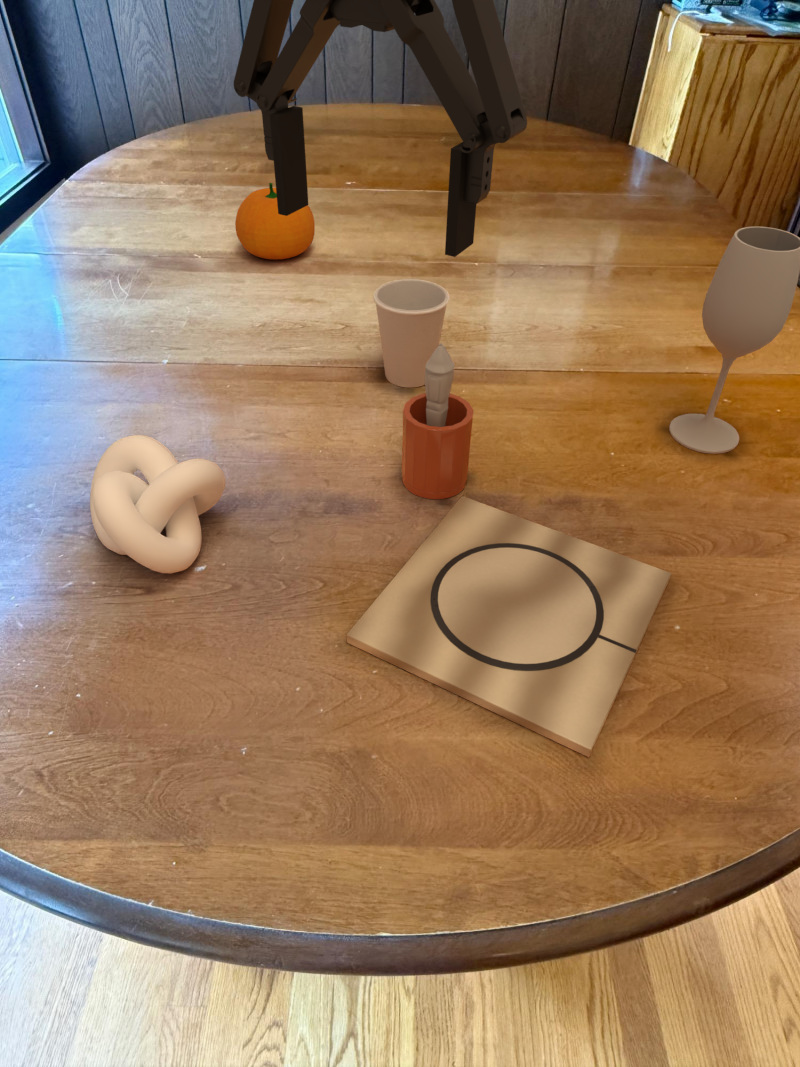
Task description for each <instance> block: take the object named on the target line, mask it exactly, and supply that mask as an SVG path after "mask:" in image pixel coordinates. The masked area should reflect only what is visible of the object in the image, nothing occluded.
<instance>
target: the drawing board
mask: <svg viewBox="0 0 800 1067" xmlns="http://www.w3.org/2000/svg"><path fill="white" fill-rule="evenodd" d="M671 577H672V572H671V571H667V570H664V569H662V568H659V567H656V566H653V565H651V564H648V563H645V562H643V561H640V560H637V559H634V558H632V557H629V556H626V555H623V554H621V553H617V552H615V551H613V550H611V549H607V548H605V547H602V546H600V545H597V544H594V543H591V542H588V541H586V540H583V539H580V538H579V537H575V536H572V535H570V534H567V533H564V532H561V531H559V530H556V529H553V528H550V527H549V526H545V525H542V524H540V523H537V522H534V521H531V520H529V519H526V518H524V517H520V516H518V515H515V514H512V513H510V512H507V511H504V510H502V509H499V508H496V507H494V506H491V505H488V504H485V503H483V502H480V501H477V500H475V499H472V498H469V497H467V496H464V495H461V497H460V498H459V499H458V500H457V501H456V503H454V505H453V506H452V507H451V508H450V509H449V511H448V512H447V513H446V515H445V516H444V517H443V518H441V521H439V523H438V524H437V525H436V526H435V528H434V529H433V530H432V531H431V533H430V534H429V535H428V536H427V538H426V539H424V541H423V542H422V543H421V545H420V546H419V547H418V548H417V549H416V550H415V552H413V554H412V555H411V556H410V557H409V559H408V560H406V563H405V564H404V565H403V566H402V567H401V568H400V569H399V571H398V572H397V573H396V574H395V576H394V577H393V578H391V581H390V582H389V583H388V584H387V585H386V586H385V588H384V589H383V590H382V591H381V592H380V593H379V595H378V596H377V597H376V598H375V600H374V601H373V602H372V603H371V604H370V606H369V607H368V608H367V609H366V610H365V612H364V613H363V614H362V616H360V618H359V619H358V620H357V621H356V623H355V624H354V625H353V626H352V627H351V628H350V630H349V631H348V632H347V633H346V644H348V645H350V646H353V647H356V648H357V649H359V650H361V651H364V652H366V653H368V654H370V655H373V656H374V657H377V658H378V659H381V660H383V661H385V662H387V663H389V664H392V665H393V666H395V667H397V668H399V669H401V670H403V671H406V672H408V673H410V674H412V675H415V676H417V677H419V678H421V679H423V680H425V681H427V682H429V683H431V684H433V685H435V686H437V687H439V688H442V689H444V690H446V691H448V692H450V693H451V694H452V693H453V694H454V695H456V696H458V697H461V698H463V699H464V700H467V701H469V702H471V703H473V704H476V705H478V706H479V707H482V708H484V709H486V710H488V711H490V712H492V713H494V714H496V715H499V716H500V717H502V718H505V719H507V720H508V721H511V722H513V723H515V724H518V725H520V726H522V727H523V728H526V729H528V730H530V731H532V732H534V733H536V734H539V735H541V736H542V737H545V738H547V739H549V740H551V741H553V742H555V743H558V744H559V745H562V746H563V747H566V748H568V749H570V750H572V751H574V752H577V753H579V754H580V755H583V756H584V757H587V758H589V757H590V756H591V754H592V752H593V750H594V748H595V745H596V743H597V741H598V739H599V737H600V734H601V732H602V730H603V727H604V726H605V723H606V721H607V719H608V716H609V714H610V713H611V710H612V708H613V705H614V704H615V702H616V699H617V698H618V695H619V692H620V690H621V688H622V686H623V684H624V681H625V679H626V677H627V675H628V672H629V670H630V668H631V666H632V664H633V662H634V659H635V657H636V655H637V653H638V650H639V649H640V646H641V644H642V642H643V640H644V637H645V635H646V633H647V631H648V628H649V626H650V624H651V623H652V620H653V618H654V615H655V613H656V611H657V609H658V607H659V605H660V603H661V601H662V597H663V595H664V593H665V591H666V588H667V586H668V584H669V582H670V580H671Z"/></svg>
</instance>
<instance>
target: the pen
mask: <svg viewBox="0 0 800 1067" xmlns="http://www.w3.org/2000/svg"><path fill="white" fill-rule="evenodd" d="M455 365H456V364H455V362H454V360H453V359H452V357H451V354H450V352H449V351H448V349H447V347H446V346H445V345H444V344H443V343H442V342H439V346H438V347H437V348H436V349H435V351H434V352H433V354H432V355H431V357H430V359H429V360H428V361H427V363H426V364H425V368H426V369H425V385H424V390H425V391H424V392H425V393H426V398H427V404H426V420H427V425H428V426H436V427H445V424H446V418H447V411H448V398H449V395H450V394H451V391H452V386H453V382H454V376H455V367H456V366H455Z"/></svg>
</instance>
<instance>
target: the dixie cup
mask: <svg viewBox="0 0 800 1067" xmlns="http://www.w3.org/2000/svg"><path fill="white" fill-rule="evenodd" d="M372 298H373V301H374V303H375V306H376V314H377V321H378V322H377V323H378V329H379V330H378V331H379V336H380V344H381V345H380V346H381V354H382V360H383V367H384V375H385V378H386V380H387V382H389V383H391V384H393V385H395V386H398V387H402V388H418V387H423V386H425V369H426V368H425V364H426V363H427V361H428V360H429V359H430V357H431V355H432V354H433V352H434V351H435V349H436V348H437V347H438V346H439V345H440V343H441V337H442V331H443V326H444V321H445V314H446V310H447V305H448V304H449V303H450V299H451V297H450V293H449V292H448V290H446V289H445V287H443V286H442V285H440V284H438V283H435V282H433V281H429V280H426V279H420V278H400V279H395V280H390V281H387V282H385V283H382V284H381V285H379V286H378V287H377V288H376V289H375V290H374V292H373V295H372Z"/></svg>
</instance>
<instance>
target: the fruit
mask: <svg viewBox="0 0 800 1067" xmlns="http://www.w3.org/2000/svg"><path fill="white" fill-rule="evenodd" d="M268 185H269V186H268V187H266V188H265V187H264V188H261V189H256V190H254V191H252V192H250V193H249V194H248V195H247V196H246V197H245V198H244V200H243V201H242V202H241V204H240V205H239V207H238V209H237V211H236V216H235V223H234V224H235V227H234V228H235V233H236V237H237V239H238V241H239V242H240V244H241V245H242V247H243V248H244V250H246V251H247V252H248V253H249V254H252V255H253V256H255V257H258V258H261V259H266V260H273V261H275V260H276V261H277V260H286V259H290V258H293V257H297V256H299V255H301V254H302V253H304V252H306V251H307V249H308V248H309V246H311V244H312V242H313V241H314V238H315V231H316V230H315V229H316V228H315V226H316V225H315V224H316V223H315V217H314V214H313V211H312V209H311V208H310V206H309V204H308V205H307V206H305V207H303V208H301V209H299V210H297V211H296V212H294V213H292V214H290V215H288V216H285V215H280V214H278V205H277V193H276V187H274V186H273V183H272V182H269V183H268Z"/></svg>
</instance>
